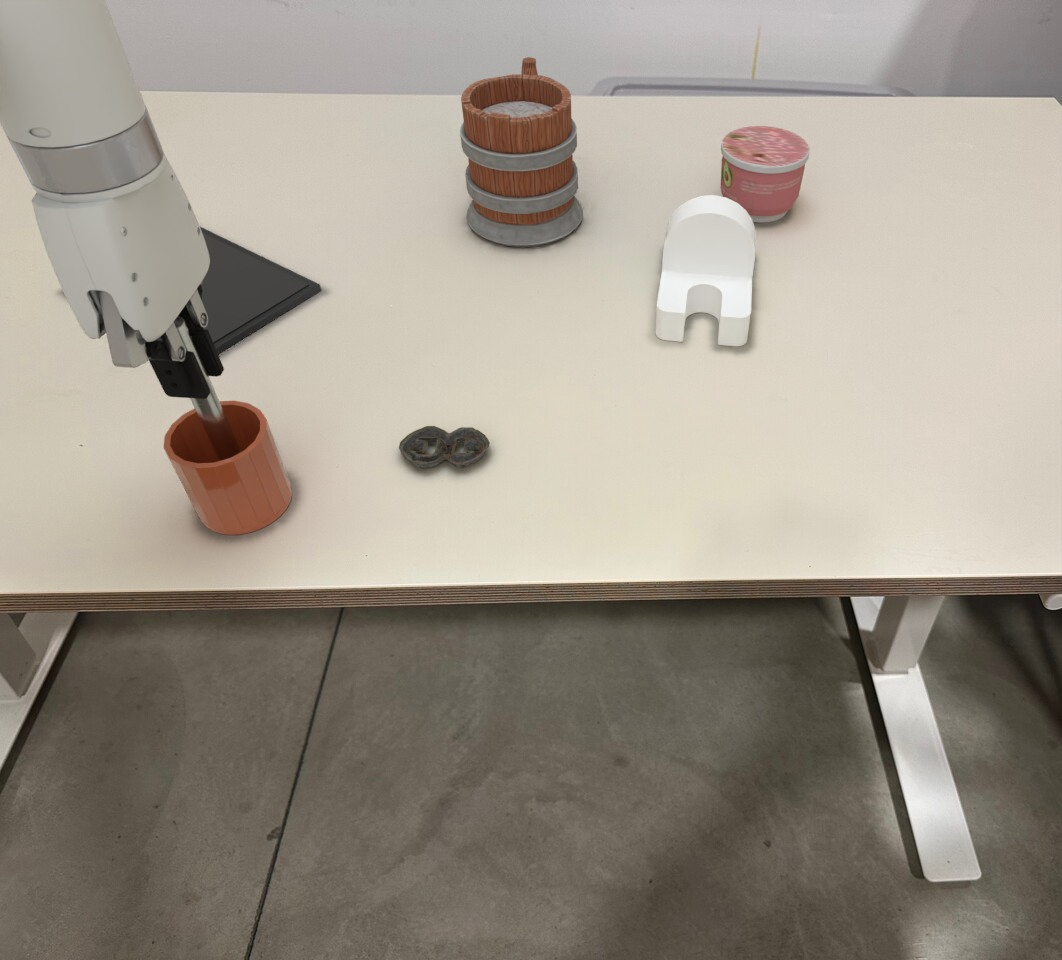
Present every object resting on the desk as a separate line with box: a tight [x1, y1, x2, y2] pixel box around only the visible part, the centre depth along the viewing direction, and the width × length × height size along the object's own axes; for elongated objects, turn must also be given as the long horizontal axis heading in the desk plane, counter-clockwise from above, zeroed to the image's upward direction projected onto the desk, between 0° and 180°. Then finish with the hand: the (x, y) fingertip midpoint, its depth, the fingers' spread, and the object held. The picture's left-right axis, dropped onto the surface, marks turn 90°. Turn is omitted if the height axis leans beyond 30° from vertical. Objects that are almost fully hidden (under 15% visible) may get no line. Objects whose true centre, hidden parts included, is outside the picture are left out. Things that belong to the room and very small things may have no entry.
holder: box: [163, 400, 293, 536], centre depth 73 cm, size 8×8×8 cm
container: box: [719, 125, 810, 223], centre depth 109 cm, size 10×10×8 cm
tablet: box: [156, 226, 322, 355], centre depth 96 cm, size 16×22×1 cm
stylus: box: [174, 316, 240, 460], centre depth 68 cm, size 2×2×14 cm
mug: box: [459, 56, 584, 248], centre depth 105 cm, size 14×19×15 cm
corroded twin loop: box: [398, 425, 490, 469], centre depth 80 cm, size 5×8×1 cm, turn 91°
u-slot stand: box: [655, 194, 756, 347], centre depth 95 cm, size 10×18×11 cm, turn 174°
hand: (195, 382), depth 66 cm, fingers closed on stylus, 1 cm apart
